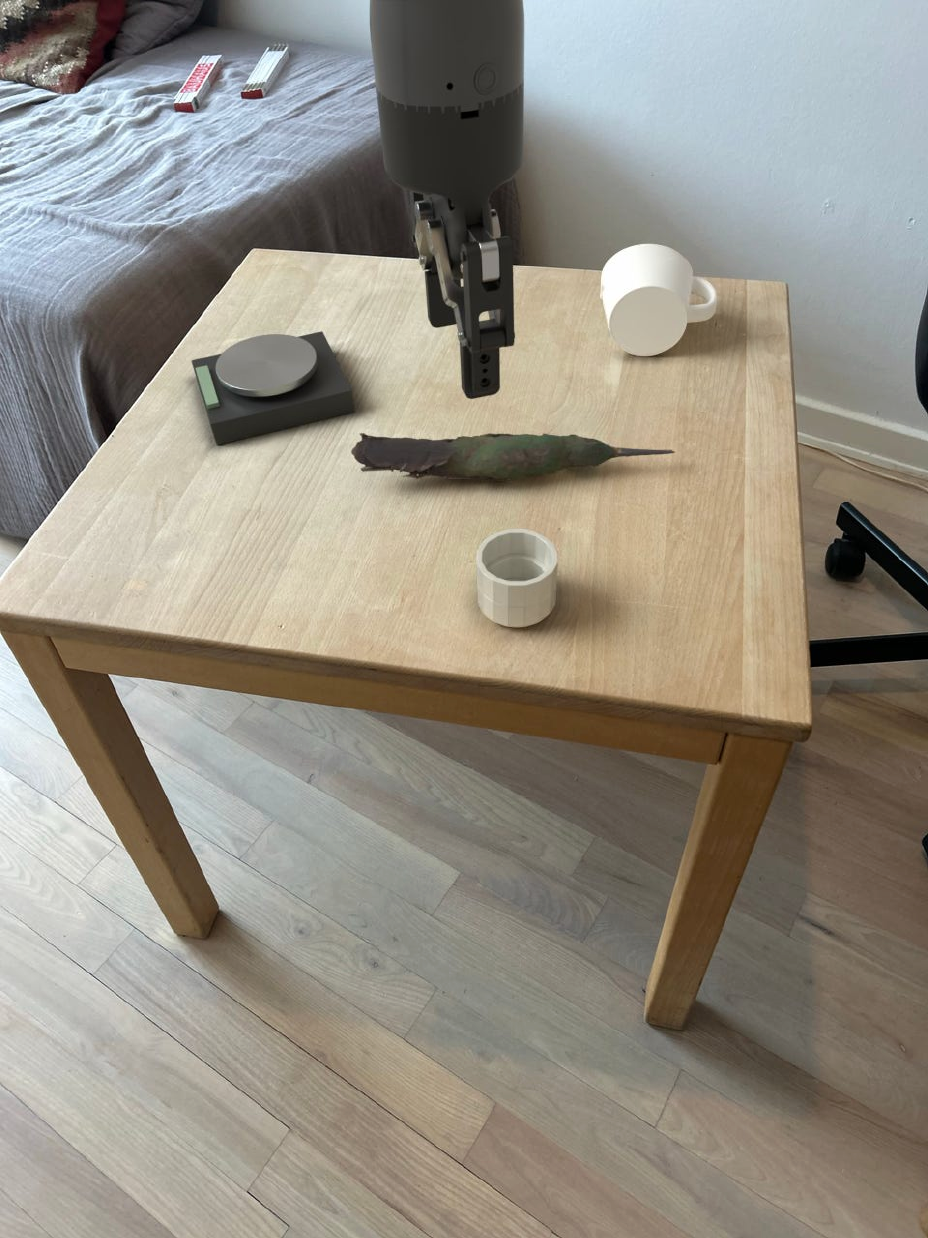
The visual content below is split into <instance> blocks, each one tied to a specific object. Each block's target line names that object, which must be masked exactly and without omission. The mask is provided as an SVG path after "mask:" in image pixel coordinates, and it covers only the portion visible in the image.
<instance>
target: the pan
mask: <svg viewBox="0 0 928 1238" xmlns="http://www.w3.org/2000/svg"><path fill="white" fill-rule="evenodd" d="M220 354H221V356H220V357H219V358H218V360H217V363H216V373H217V377H218V380H219V382H220V383H221V385H222V386H223V387H224V388H226V389H227V390H229V391H231V392H233V393H236V394H239V395H243V396H251V397H265V396H273V395H278V394H281V393H285V392H288V391H291V390H293V389H295V388H297V387H299V386H301V385H302V384H304V383H305V382H307V381H308V380H309V379H310V378H311V377H312V376H313V374H314V373H315V371H316V369H317V365H318V361H317V355H316V351H315V349H314V348H313V346H312V345H311V344H310V343H308V342H307V341H305V340H303V339H301V338H299V337H298V336H295V335H290V334H283V333H269V334H262V335H261V334H260V335H255V336H252V337H248V338H245V339H243V340H241V341H237V343H234V344H232V345H230V346H229V347H228V348H227V349H225V350H224V351H223V352H222V353H220Z"/></svg>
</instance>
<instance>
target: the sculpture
mask: <svg viewBox="0 0 928 1238" xmlns="http://www.w3.org/2000/svg"><path fill="white" fill-rule="evenodd" d="M358 434H359V436H360V437H361V440H359V441H357V442H356V444H355V446H353V447H352V448H351V450H350V453H351V455H352V456H353V458H354V459H355V460H356V461H357V462H358V464H360V465H364V466H363V467H361V468H360V471H361V472H364V473H365V472H384V471H385V472H387V471H391V472H394V471H398V472H399V473H403V472H404V473H409V474H406V475H402V478H413V479H415V480H417V479H418V480H419V479H421V478H425V477H438V478H440V479H443V480H449V479H452V480H453V479H456V480H462V479H465V480H468V479H469V480H480V479H483V480H489V481H495V482H499V481H502V482H505V481H506V482H507V481H515V480H519V479H520V480H521V479H525V478H532V477H534V476H539V475H545V474H547V475H548V474H555V473H558V472H560V471H564V470H566V469H577V468H579V469H581V468H582V469H583V468H588V467H592V468H596V467H599V466H601V465H602V464H604V463H606V462H608V461H610V460H611V459H616V458H620V457H625V458H626V457H628V458H629V457H637V456H638V457H639V456H653V455H654V456H656V455H657V456H658V455H659V456H660V455H669V454H675V453H676V451H675V450H673V449H649V448H627V447H617V446H611V445H609V444H608V443H605V442H603V441H602V440H599V439H595V438H588V437H583V436H580V435H578V434H569V435H555V434H549V433H543V434H542V435H538V434H534V433H533V434H529V433H523V434H522V433H521V434H511V433H491V432H490V433H485V434H480V435H474V436H468V435H467V436H465V435H462V436H457V437H456V438H443V439H442V438H441V439H429V438H413V437H389V436H376V435H375V436H374V435H368V434H367V433H363V432H360V433H358Z"/></svg>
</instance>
